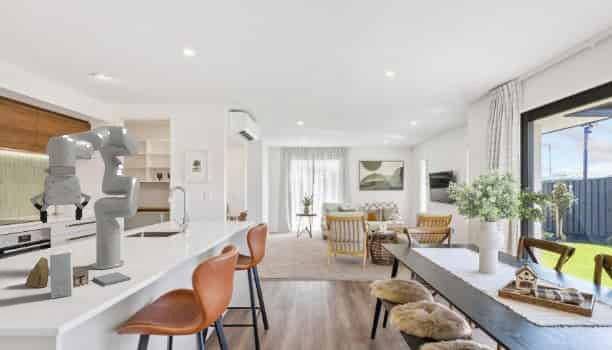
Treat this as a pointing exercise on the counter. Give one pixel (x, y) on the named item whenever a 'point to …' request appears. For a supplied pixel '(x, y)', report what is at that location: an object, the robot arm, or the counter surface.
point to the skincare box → (61, 273)
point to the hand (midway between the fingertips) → (61, 221)
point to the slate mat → (111, 278)
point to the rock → (39, 274)
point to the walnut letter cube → (80, 277)
